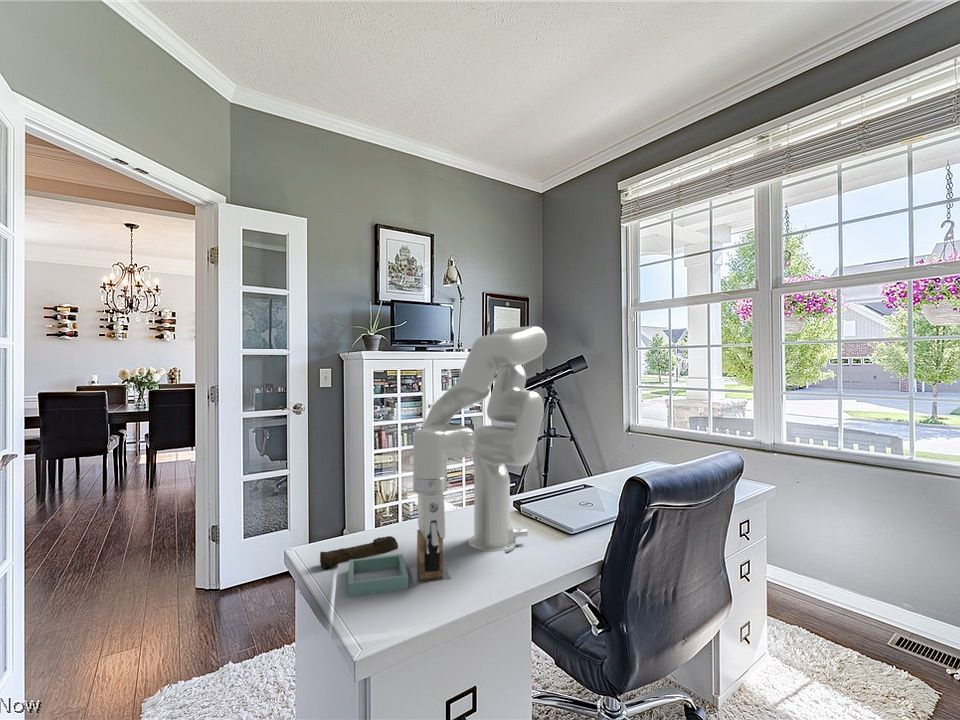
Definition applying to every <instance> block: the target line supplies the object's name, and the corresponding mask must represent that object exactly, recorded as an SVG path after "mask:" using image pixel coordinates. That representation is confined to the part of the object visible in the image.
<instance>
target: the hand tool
mask: <svg viewBox="0 0 960 720" xmlns="http://www.w3.org/2000/svg"><path fill="white" fill-rule="evenodd" d="M397 549H399V543H398V542H397V539H396V538H395V537H393V536H389V535H388V536H383V537H377V538H374V539H373V541H372V542H369V543H365V544H360V545H354V546H351V547H344V548H339V549H335V550H329V551H320V554H319V563H320V568H321V569H322V570H325V569H326V568H329V569H331V568H332V567H333V566H337V565H339V564H341V563H344V562H349V560H352V559H361V558H370V557H373V556H374V557H375V556H376V555H377V556H378V555H382V554H386V553H389V552H392V551H396V550H397Z"/></svg>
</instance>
